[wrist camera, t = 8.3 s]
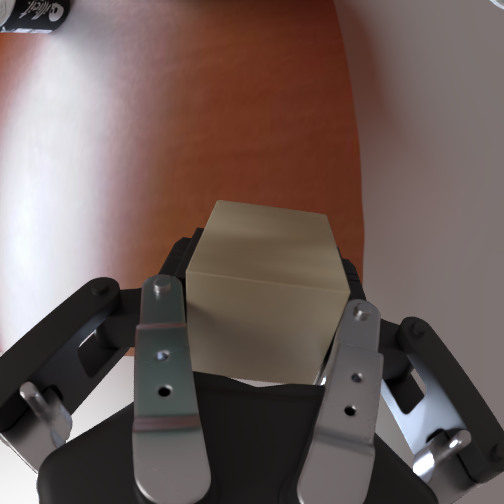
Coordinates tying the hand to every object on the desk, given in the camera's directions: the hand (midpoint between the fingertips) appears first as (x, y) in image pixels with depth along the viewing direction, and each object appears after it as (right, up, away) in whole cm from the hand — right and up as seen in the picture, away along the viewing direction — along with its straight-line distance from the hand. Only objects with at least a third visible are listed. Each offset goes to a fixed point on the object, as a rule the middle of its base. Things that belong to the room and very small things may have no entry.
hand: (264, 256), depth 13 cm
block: (0, 0, 0) cm, 0 cm away
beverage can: (-28, +34, +13) cm, 46 cm away
